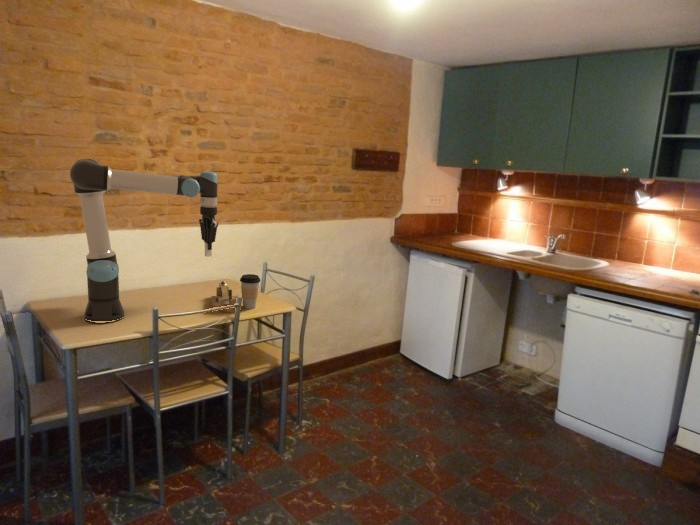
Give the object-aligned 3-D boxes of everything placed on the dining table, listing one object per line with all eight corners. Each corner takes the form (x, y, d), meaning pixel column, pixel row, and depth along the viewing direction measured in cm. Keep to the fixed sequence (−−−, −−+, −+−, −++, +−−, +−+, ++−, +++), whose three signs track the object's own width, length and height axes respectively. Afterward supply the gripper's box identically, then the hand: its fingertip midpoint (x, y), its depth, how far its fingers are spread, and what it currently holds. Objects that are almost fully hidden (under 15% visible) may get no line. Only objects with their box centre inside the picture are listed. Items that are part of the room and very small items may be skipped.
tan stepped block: (211, 313, 229) (211, 296, 227) (211, 303, 242) (211, 287, 240) (239, 312, 232) (239, 295, 230) (237, 302, 245) (237, 286, 243)
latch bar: (218, 286, 250) (218, 280, 249) (226, 286, 251) (227, 280, 251) (220, 297, 233) (220, 291, 233) (229, 297, 235) (229, 291, 234)
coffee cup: (243, 311, 234) (244, 279, 231) (236, 305, 242) (236, 274, 238) (262, 308, 239) (263, 278, 236) (254, 302, 247) (255, 273, 244)
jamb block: (216, 300, 246) (216, 290, 245) (216, 296, 252) (216, 286, 251) (229, 300, 248) (229, 290, 247) (228, 296, 254) (229, 286, 253)
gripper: (193, 204, 235) (193, 254, 241) (209, 208, 227) (208, 259, 232) (208, 203, 241) (207, 252, 246) (223, 207, 232) (222, 258, 238)
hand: (208, 256), depth 239 cm, fingers closed
